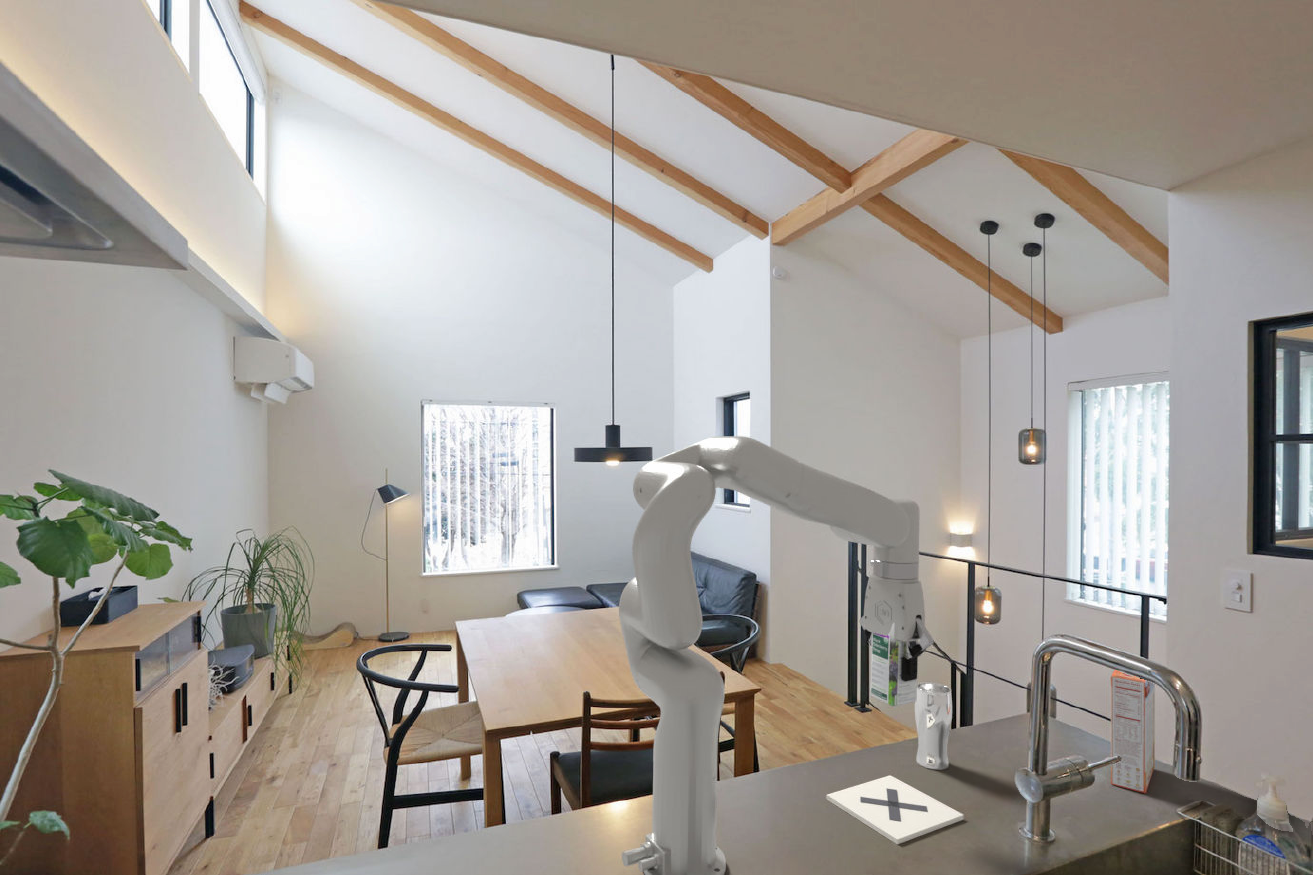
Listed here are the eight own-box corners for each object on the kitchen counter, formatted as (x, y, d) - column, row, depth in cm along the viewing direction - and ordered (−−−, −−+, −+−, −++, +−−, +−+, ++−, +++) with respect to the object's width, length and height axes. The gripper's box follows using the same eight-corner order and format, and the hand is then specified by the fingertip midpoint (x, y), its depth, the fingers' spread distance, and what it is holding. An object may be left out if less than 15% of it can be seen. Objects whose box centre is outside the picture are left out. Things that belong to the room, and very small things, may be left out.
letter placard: (897, 844, 113) (897, 838, 113) (826, 799, 127) (826, 794, 127) (963, 819, 121) (963, 814, 121) (890, 779, 135) (890, 774, 135)
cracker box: (1119, 759, 145) (1121, 657, 145) (1155, 769, 141) (1157, 663, 141) (1107, 784, 134) (1109, 673, 134) (1146, 795, 130) (1148, 680, 130)
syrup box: (868, 696, 125) (870, 613, 125) (894, 691, 128) (895, 610, 128) (892, 707, 120) (893, 621, 120) (918, 702, 123) (920, 618, 123)
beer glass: (954, 772, 138) (955, 695, 138) (916, 768, 139) (917, 692, 139) (947, 757, 145) (948, 683, 145) (911, 753, 146) (912, 680, 146)
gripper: (843, 564, 130) (842, 663, 130) (921, 581, 115) (919, 693, 115) (873, 561, 133) (871, 657, 133) (952, 577, 118) (950, 686, 118)
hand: (893, 673), depth 124 cm, fingers closed on syrup box, 5 cm apart
